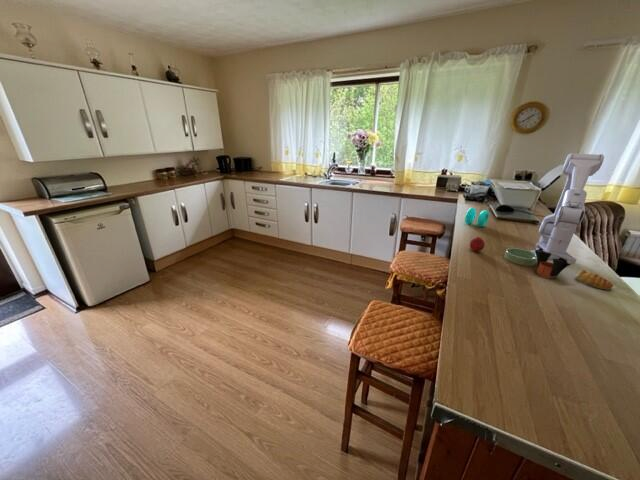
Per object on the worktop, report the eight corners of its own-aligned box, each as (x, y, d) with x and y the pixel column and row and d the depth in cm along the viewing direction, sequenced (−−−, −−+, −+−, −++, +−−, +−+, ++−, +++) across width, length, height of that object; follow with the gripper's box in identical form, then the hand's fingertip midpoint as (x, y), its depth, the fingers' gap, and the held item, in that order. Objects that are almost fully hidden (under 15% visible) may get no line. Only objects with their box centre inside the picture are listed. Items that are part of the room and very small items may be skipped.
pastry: (613, 287, 91) (618, 278, 90) (607, 293, 88) (612, 283, 86) (579, 275, 98) (583, 267, 97) (572, 280, 95) (576, 271, 94)
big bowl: (521, 254, 115) (523, 247, 114) (542, 266, 105) (545, 259, 104) (498, 255, 115) (500, 248, 113) (516, 267, 105) (519, 259, 103)
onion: (484, 255, 114) (489, 238, 111) (470, 254, 115) (474, 237, 112) (479, 249, 120) (484, 234, 116) (466, 248, 121) (470, 233, 117)
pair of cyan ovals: (468, 221, 159) (472, 205, 155) (486, 225, 152) (491, 209, 148) (462, 224, 152) (466, 208, 148) (480, 229, 146) (485, 212, 142)
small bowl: (545, 271, 101) (549, 261, 100) (558, 278, 96) (563, 268, 95) (532, 271, 101) (536, 261, 99) (544, 279, 96) (548, 268, 94)
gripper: (533, 232, 99) (522, 262, 105) (568, 247, 86) (553, 281, 91) (550, 232, 100) (538, 262, 105) (587, 247, 86) (572, 281, 92)
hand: (546, 271), depth 98 cm, fingers closed on small bowl, 5 cm apart
